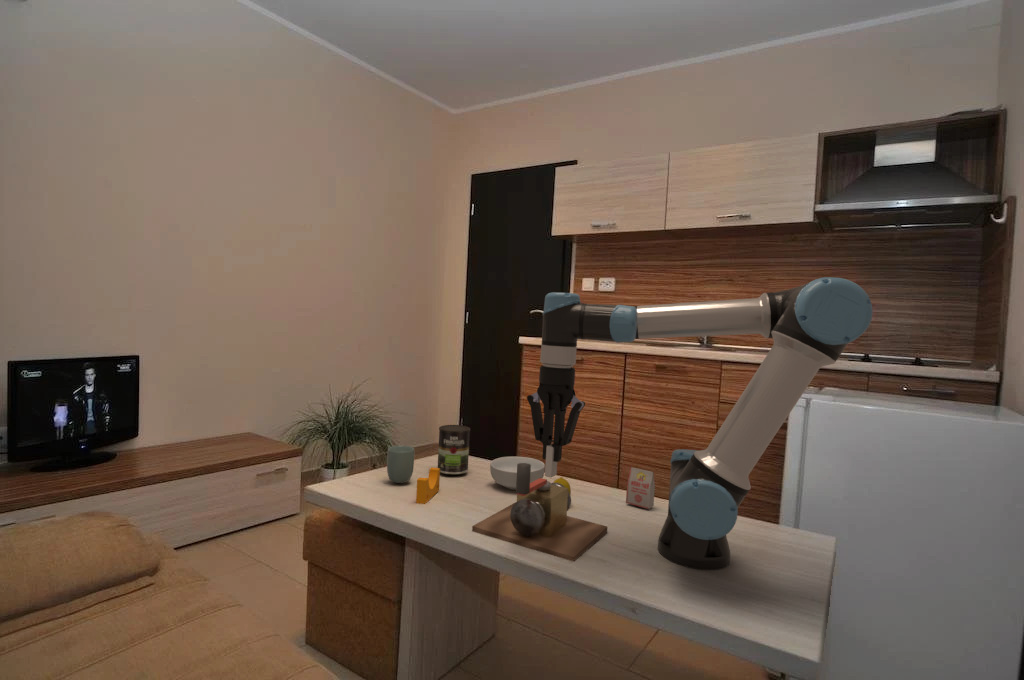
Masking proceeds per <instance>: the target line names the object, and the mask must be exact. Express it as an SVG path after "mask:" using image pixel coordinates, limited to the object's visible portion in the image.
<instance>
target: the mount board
mask: <svg viewBox="0 0 1024 680" xmlns="http://www.w3.org/2000/svg"><path fill="white" fill-rule="evenodd" d="M516 502H517V501H515V502H514V503H512V504H510V505H508V506H506V507H504V508H503V509H501V510H499V511H497V512H495V513H493V514H492V515H490V516H488V517H486V518H484V519H482V520H481V521H479V522H477V523H475V524H473V525H472V527H471V532H474V533H476V532H477V534H480V535H484V536H487V537H490V538H495V539H496V540H500V541H503V542H507V543H510V544H514V545H517V546H521V547H525V548H527V549H529V550H530V549H531V550H534V551H537V552H540V553H541V552H542V553H544V554H548V555H551V556H554V557H558V558H561V559H565V560H568V561H571V562H575V561H576V560H577V559H578V558H579V557H581V556H582V555H583V554H584V553H585V552H587V551H588V550H589V549H590V548H591V547H592V546H594V545H595V544H596V543H597V542H598V541H599V540H601V539H602V538H603V537H604V536H605V535H606V534H607V533H608V528H609V526H607V525H603V524H601V523H600V524H599V523H595V522H591V521H588V520H584V519H581V518H577V517H572V516H569V515H567V518H566V525H565V526H564V527H563V528H562V529H560V530H559V531H558V532H556V533H555V534H554V535H552V536H551V537H550V538H549V537H546V536H542V535H539V534H535V535H533V536H525V535H522V534H520V533H519V532H518V531H517V530H516V529H515V528H514V526H513V524H512V522H511V517H510V513H511V509H512V506H513V505H514V504H515V503H516Z"/></svg>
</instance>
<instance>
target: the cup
mask: <svg viewBox="0 0 1024 680" xmlns="http://www.w3.org/2000/svg"><path fill="white" fill-rule="evenodd" d="M386 455H387V456H386V458H387V459H386V469H387V470H386V472H387V473H386V474H387V477H388V479H389V481H391V482H392V483H394V484H395V483H396V484H403V483H406V482H408V481H410V480H411V478H412V476H413V473H414V465H415V448H414V447H413V446H410V445H402V444H401V445H400V444H399V445H393V446H390V447H388V448H387V453H386Z"/></svg>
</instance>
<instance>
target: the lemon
mask: <svg viewBox="0 0 1024 680" xmlns="http://www.w3.org/2000/svg"><path fill="white" fill-rule="evenodd" d="M552 483H559V484H562V485H563V486H564V487H565V488H568V491H569V493H570V496H572V495H571V493H572V491H571V485H570V483H569V481H568V480H566V479H565V478H563V476H560V477H559V478H556V479H554V481H553V482H552Z"/></svg>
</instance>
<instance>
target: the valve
mask: <svg viewBox="0 0 1024 680" xmlns="http://www.w3.org/2000/svg"><path fill="white" fill-rule="evenodd" d="M550 483H551V489H550V490H538V489H536V490H534V491H532V492H531V493H529V494H527V495H525V496H521V495H517V494H516V501H515V502H516V503H515V502H514V503H515V504H514V505H513V506H512V509H511V513H510V517H511V522H512V524H513V526H514V528H515V529H516V530H517V531H518V532H519V533H520V534H522V535H525V536H533V535H535V534H539V535H542V536H546V537H549V538H550V537H551V536H552V535H554V534H555V533H556V532H558V531H559V530H560V529H562V528H563V527H564V526H565V525H566V518H567V516H568V515H567V514H568V511H569V510H570V508H571V504H572V497H571V496H572V495H570V493H569V491H568V488H565V487H564V486H563V485H562V484H559V483H553V482H550Z"/></svg>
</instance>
